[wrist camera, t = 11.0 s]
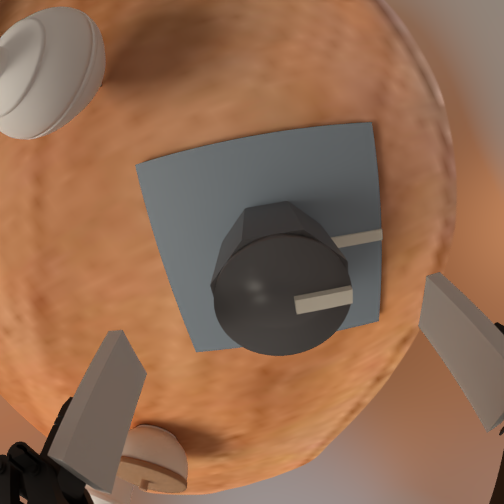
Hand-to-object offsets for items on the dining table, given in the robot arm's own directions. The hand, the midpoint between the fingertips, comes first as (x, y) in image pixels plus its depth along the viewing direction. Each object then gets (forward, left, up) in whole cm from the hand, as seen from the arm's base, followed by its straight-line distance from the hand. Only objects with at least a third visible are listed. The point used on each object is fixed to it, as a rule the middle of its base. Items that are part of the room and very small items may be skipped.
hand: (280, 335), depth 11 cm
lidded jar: (+25, -20, -11) cm, 34 cm away
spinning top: (-15, -10, -10) cm, 20 cm away
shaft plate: (0, 0, -10) cm, 10 cm away
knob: (0, 0, -9) cm, 9 cm away
